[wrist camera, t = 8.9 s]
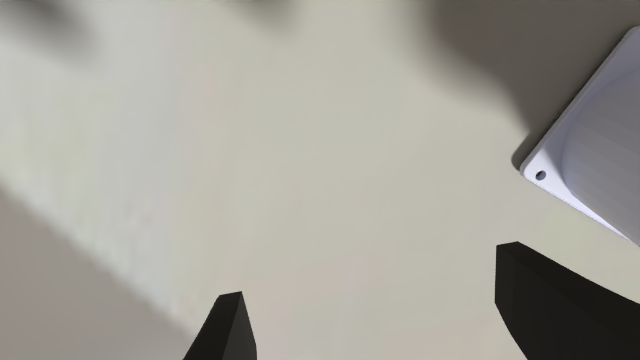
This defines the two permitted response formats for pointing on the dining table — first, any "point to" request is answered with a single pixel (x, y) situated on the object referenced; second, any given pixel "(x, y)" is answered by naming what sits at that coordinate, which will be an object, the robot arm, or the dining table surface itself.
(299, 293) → the dining table surface
